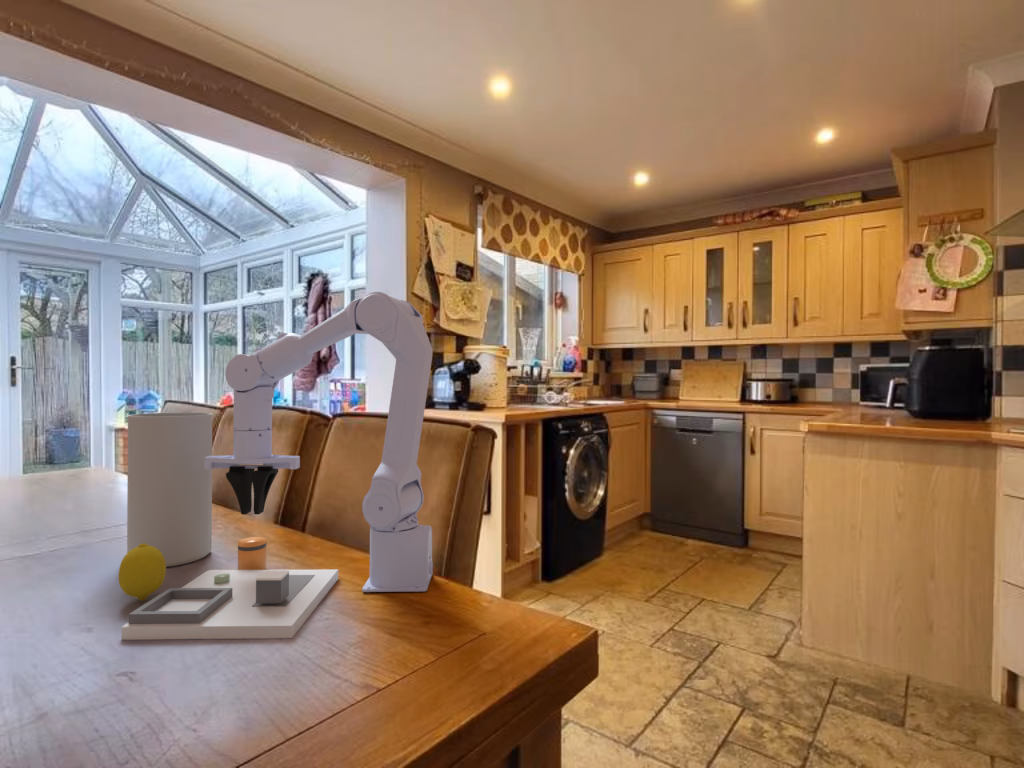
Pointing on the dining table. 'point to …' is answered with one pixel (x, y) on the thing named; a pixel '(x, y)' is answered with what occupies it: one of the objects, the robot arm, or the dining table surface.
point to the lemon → (142, 571)
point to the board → (229, 607)
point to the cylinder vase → (170, 485)
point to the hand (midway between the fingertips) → (252, 513)
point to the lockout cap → (252, 553)
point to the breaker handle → (272, 587)
